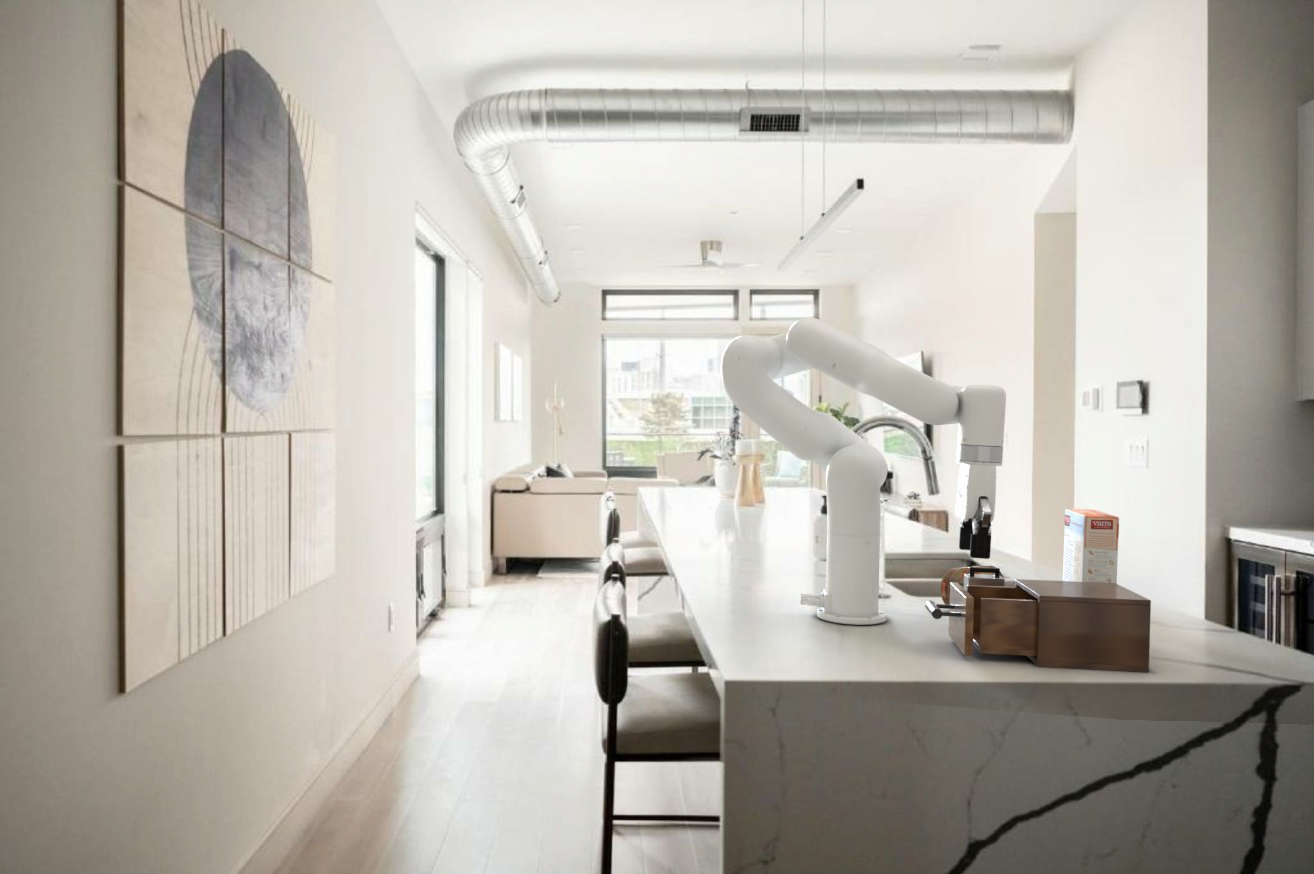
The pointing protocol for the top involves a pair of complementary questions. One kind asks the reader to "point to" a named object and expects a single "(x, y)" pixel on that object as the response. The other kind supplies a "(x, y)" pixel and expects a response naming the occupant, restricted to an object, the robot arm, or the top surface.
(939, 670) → the top surface
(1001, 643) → the drawer
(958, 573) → the tin
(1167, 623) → the top surface
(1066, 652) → the cabinet
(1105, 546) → the cracker box
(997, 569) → the grater
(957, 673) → the top surface
